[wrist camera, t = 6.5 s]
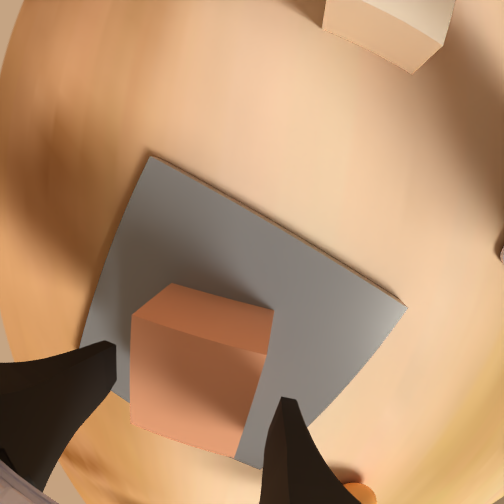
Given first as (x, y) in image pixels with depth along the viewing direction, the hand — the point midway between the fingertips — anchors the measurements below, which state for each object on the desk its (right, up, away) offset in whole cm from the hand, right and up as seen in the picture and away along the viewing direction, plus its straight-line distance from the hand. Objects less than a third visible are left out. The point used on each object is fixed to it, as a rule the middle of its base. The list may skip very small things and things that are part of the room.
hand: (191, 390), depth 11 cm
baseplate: (0, +1, +4) cm, 4 cm away
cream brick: (+9, +18, 0) cm, 21 cm away
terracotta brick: (0, +1, +3) cm, 3 cm away
